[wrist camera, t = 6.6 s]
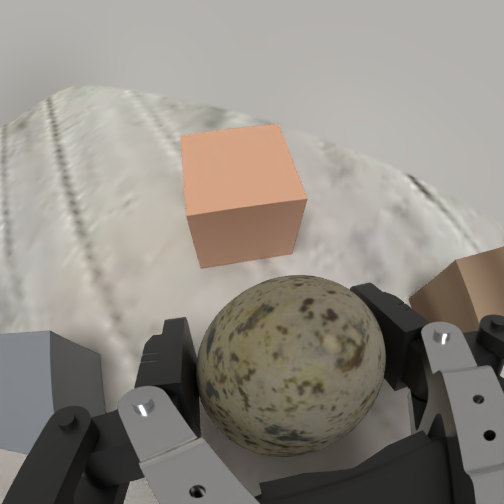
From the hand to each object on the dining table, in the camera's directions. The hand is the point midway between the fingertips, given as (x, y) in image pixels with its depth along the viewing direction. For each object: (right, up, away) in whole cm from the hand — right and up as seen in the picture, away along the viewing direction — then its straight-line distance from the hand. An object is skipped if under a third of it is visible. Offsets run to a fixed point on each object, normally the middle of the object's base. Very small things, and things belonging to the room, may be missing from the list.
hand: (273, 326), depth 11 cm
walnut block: (+11, -2, +4) cm, 12 cm away
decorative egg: (0, -4, +3) cm, 5 cm away
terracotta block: (-2, +4, +7) cm, 9 cm away
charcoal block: (-11, -5, +2) cm, 12 cm away
